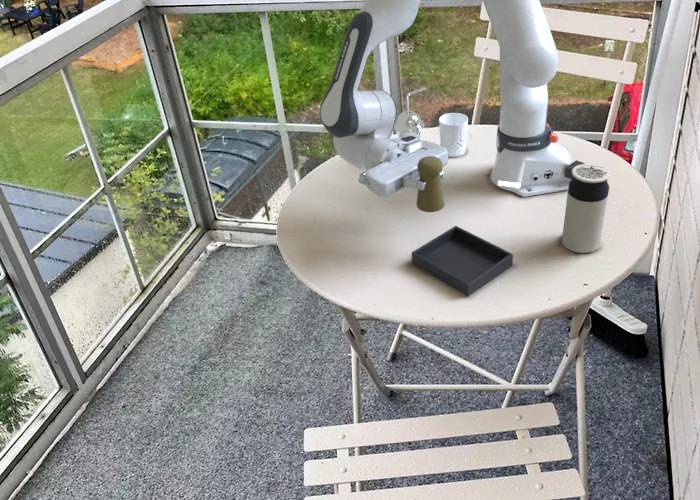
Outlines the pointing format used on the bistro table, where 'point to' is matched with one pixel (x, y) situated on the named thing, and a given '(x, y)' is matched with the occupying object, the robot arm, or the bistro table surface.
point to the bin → (462, 260)
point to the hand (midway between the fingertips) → (433, 181)
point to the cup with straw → (409, 120)
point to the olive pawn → (430, 185)
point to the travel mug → (585, 208)
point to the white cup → (453, 133)
